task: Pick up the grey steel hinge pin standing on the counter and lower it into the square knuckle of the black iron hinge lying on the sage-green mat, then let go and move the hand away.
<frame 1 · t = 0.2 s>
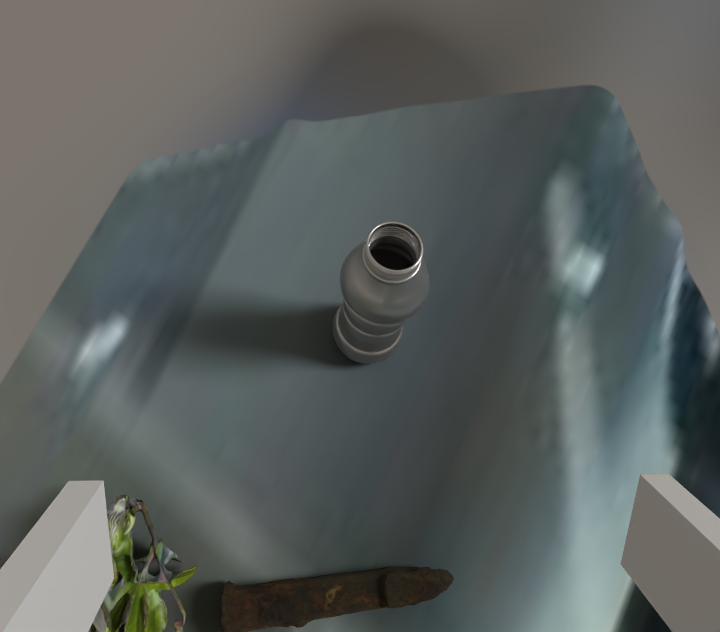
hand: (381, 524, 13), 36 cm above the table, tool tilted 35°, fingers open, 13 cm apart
hand tool: (337, 582, 45), on the table
passion flower: (134, 564, 44), on the table
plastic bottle: (364, 337, 52), on the table
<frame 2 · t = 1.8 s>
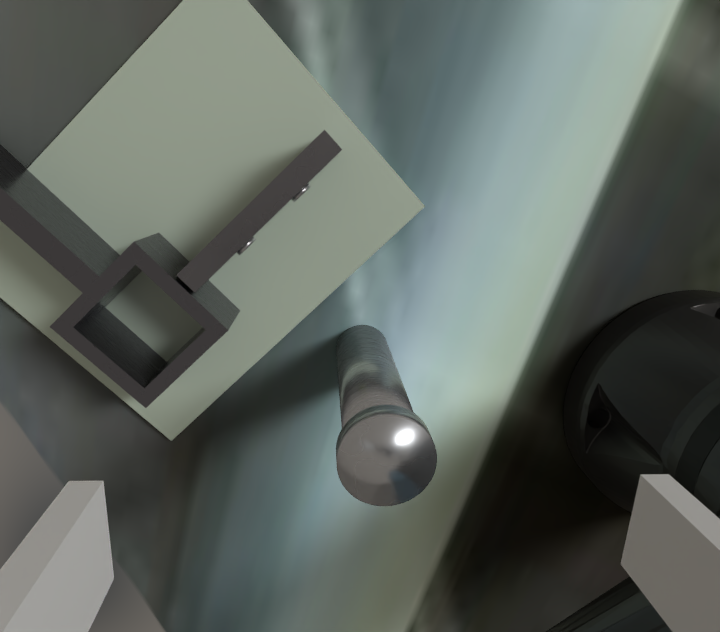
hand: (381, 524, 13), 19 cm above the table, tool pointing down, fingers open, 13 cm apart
hinge pin: (362, 349, 32), on the table
hinge base: (163, 308, 30), resting on mat
bolted dark bar: (263, 212, 27), point 3 cm above the table, hinge at 0.0°
mat: (193, 228, 29), on the table
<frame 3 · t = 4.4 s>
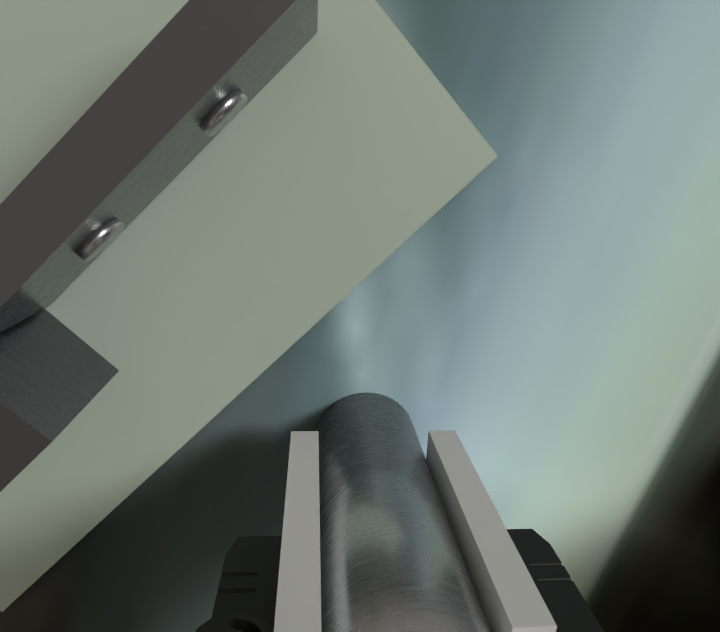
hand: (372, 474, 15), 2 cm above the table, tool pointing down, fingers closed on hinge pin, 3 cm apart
hinge pin: (365, 438, 17), on the table, touching gripper
bolted dark bar: (137, 160, 11), point 3 cm above the table, hinge at 0.0°
mat: (9, 203, 14), on the table
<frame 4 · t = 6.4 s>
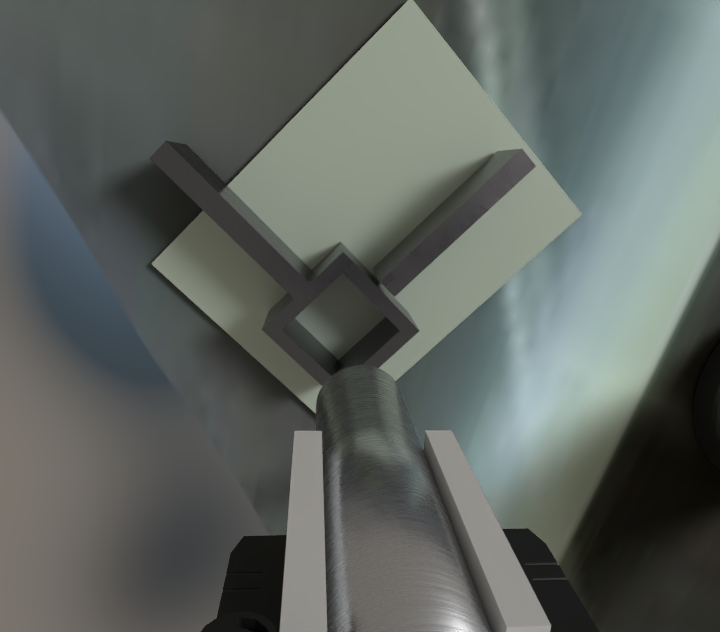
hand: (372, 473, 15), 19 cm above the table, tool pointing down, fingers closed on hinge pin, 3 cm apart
hinge pin: (360, 406, 19), point 15 cm above the table, touching gripper
hinge base: (339, 311, 33), resting on mat
bolted dark bar: (448, 222, 29), point 3 cm above the table, hinge at 0.0°
mat: (369, 237, 32), on the table
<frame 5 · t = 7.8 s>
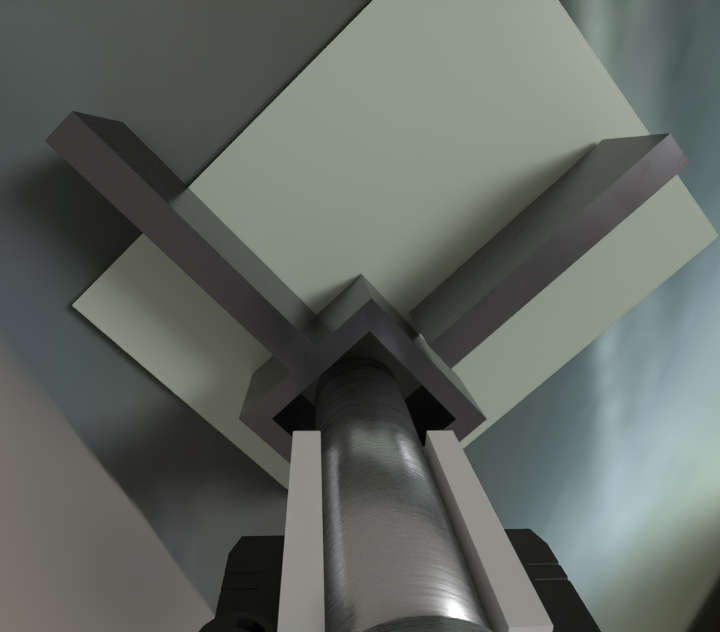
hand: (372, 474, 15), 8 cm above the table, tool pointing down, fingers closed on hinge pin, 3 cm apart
hinge pin: (357, 394, 20), point 3 cm above the table, touching gripper
hinge base: (357, 375, 22), resting on mat
bolted dark bar: (532, 249, 19), point 3 cm above the table, hinge at 0.0°
mat: (403, 267, 21), on the table
when the fingers open (6 cm above the table, at t = 8.4 s): hinge pin stays where it is, resting on mat.
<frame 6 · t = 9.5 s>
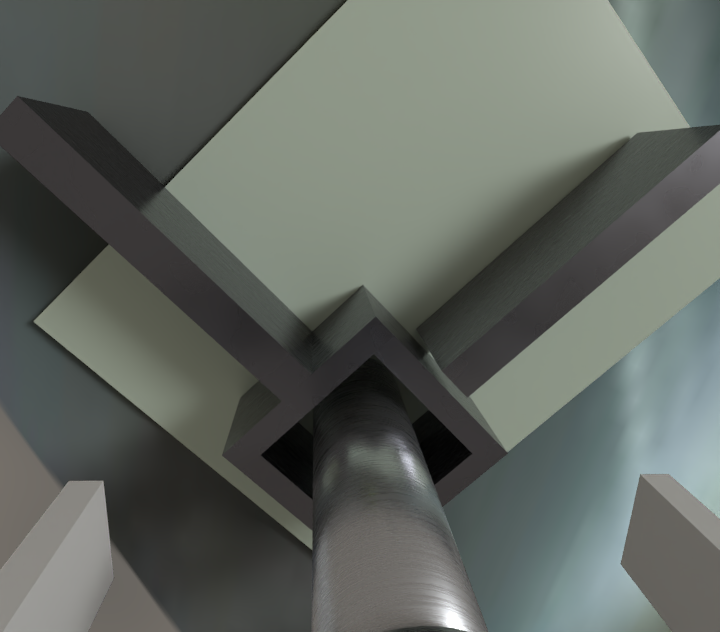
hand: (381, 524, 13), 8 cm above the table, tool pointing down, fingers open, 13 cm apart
hinge pin: (356, 395, 20), point 1 cm above the table, touching mat
hinge base: (358, 397, 20), resting on mat
bolted dark bar: (559, 258, 16), point 3 cm above the table, hinge at 0.0°
mat: (410, 277, 19), on the table
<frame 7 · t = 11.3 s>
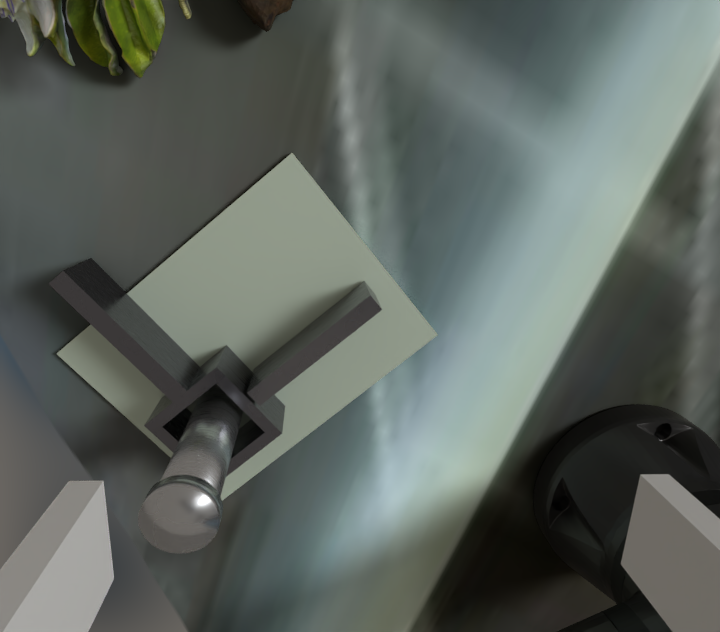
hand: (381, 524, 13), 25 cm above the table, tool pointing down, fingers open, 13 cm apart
hinge pin: (223, 400, 37), point 1 cm above the table, touching mat
hinge base: (224, 402, 38), resting on mat
bolted dark bar: (314, 342, 34), point 3 cm above the table, hinge at 0.0°
mat: (253, 341, 37), on the table
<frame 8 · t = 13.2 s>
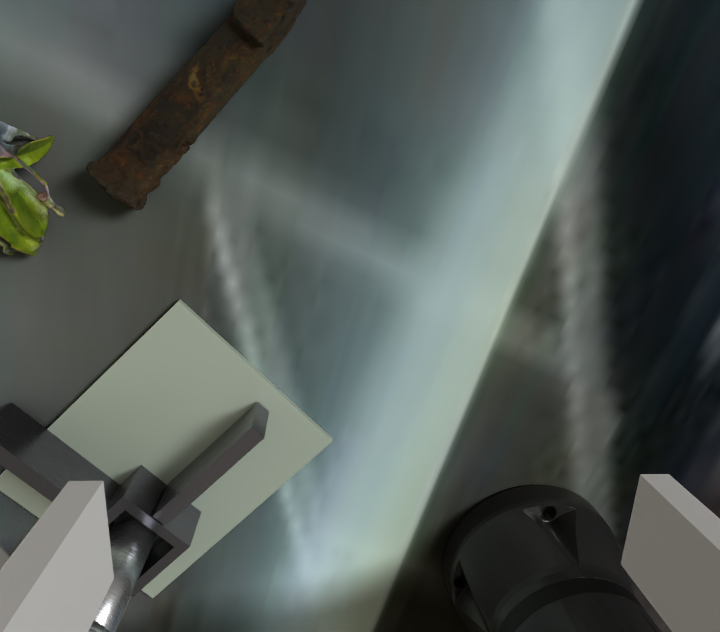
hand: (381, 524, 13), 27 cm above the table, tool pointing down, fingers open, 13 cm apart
hinge pin: (144, 512, 42), point 1 cm above the table, touching mat
hinge base: (145, 512, 42), resting on mat
hand tool: (210, 79, 34), on the table
bolted dark bar: (214, 463, 39), point 3 cm above the table, hinge at 0.0°
mat: (166, 458, 41), on the table
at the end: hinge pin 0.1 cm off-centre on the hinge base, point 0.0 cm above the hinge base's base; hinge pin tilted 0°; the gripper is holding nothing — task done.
